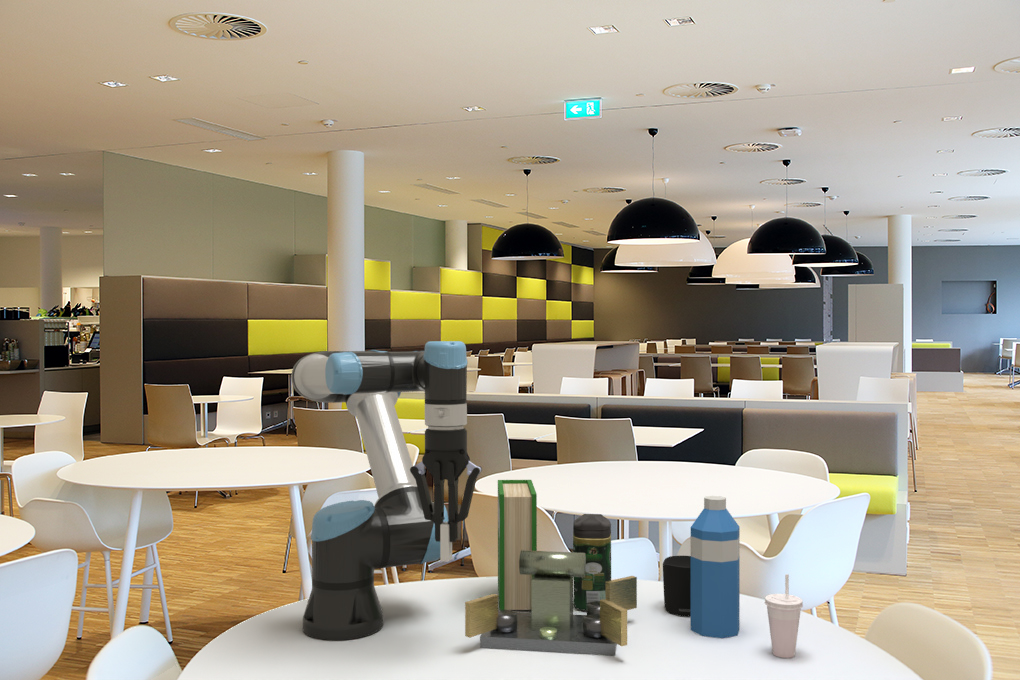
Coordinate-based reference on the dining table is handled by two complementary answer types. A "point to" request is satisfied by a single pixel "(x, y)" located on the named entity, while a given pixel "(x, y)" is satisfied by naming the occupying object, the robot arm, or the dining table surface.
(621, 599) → the knob rear
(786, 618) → the smoothie
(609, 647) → the base
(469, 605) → the knob left
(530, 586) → the hardback book
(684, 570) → the black smart speaker
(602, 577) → the coffee jar
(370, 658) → the dining table surface
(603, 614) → the knob right
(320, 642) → the dining table surface
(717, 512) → the water bottle
